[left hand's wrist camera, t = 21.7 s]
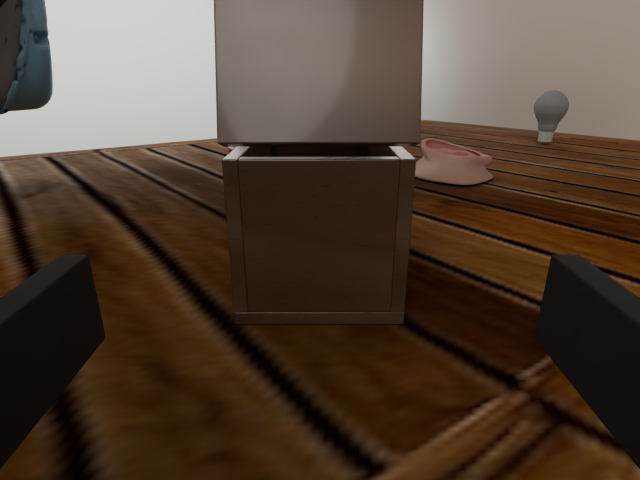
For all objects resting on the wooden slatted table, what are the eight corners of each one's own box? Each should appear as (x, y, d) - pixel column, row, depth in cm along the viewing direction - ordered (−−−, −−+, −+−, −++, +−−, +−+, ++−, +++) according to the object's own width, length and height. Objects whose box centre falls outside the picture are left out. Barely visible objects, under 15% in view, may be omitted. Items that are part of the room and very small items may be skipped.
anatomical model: (494, 155, 52) (399, 149, 56) (490, 188, 53) (398, 179, 58) (500, 140, 63) (421, 136, 68) (496, 167, 65) (419, 162, 69)
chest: (267, 228, 40) (262, 123, 37) (372, 228, 40) (376, 123, 37) (235, 324, 25) (221, 159, 22) (403, 324, 25) (416, 159, 22)
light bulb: (533, 145, 85) (542, 91, 81) (524, 140, 90) (532, 89, 87) (566, 145, 84) (577, 91, 80) (554, 141, 90) (564, 89, 86)
